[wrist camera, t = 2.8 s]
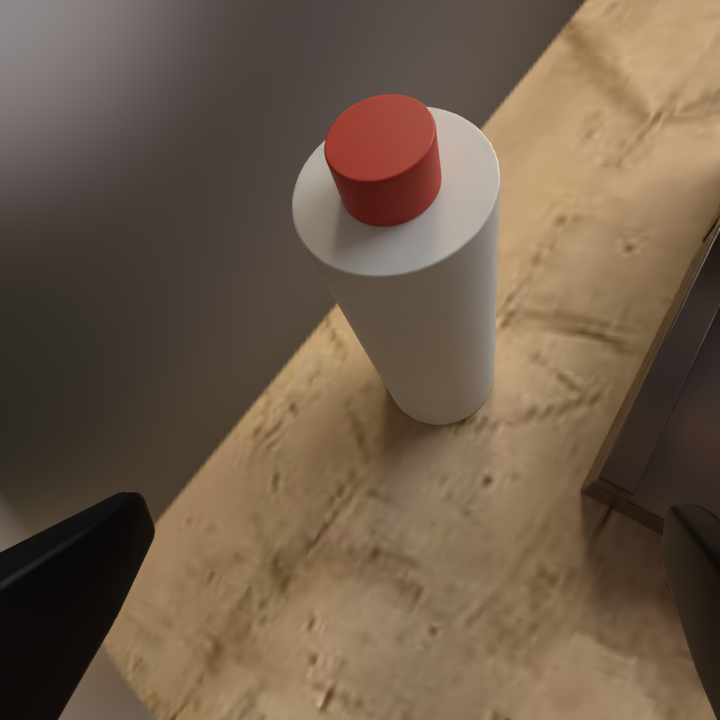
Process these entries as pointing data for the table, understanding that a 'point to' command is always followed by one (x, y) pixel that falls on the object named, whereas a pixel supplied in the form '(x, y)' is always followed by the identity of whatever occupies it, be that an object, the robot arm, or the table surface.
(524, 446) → the table surface
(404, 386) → the glue bottle
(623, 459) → the step shelf
